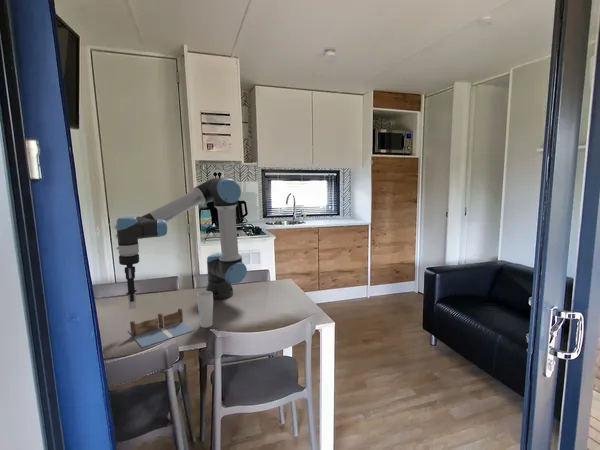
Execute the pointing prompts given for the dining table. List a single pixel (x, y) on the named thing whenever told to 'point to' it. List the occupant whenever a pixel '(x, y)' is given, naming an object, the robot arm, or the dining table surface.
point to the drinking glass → (205, 308)
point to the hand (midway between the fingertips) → (132, 307)
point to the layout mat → (162, 334)
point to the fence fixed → (173, 318)
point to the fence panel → (146, 325)
